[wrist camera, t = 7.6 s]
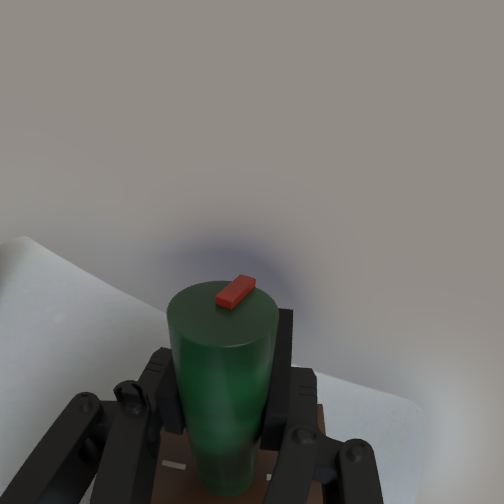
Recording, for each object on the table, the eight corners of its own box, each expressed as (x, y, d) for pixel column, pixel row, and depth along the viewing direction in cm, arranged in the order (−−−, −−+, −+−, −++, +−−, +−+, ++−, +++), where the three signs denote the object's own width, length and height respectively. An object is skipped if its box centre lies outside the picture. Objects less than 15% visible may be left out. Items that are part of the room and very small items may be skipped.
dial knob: (237, 505, 11) (248, 354, 6) (186, 480, 13) (141, 308, 8) (263, 464, 14) (296, 289, 9) (215, 443, 15) (206, 263, 10)
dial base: (324, 566, 9) (335, 563, 8) (111, 539, 9) (98, 532, 8) (316, 418, 19) (323, 402, 19) (157, 402, 20) (152, 385, 19)
